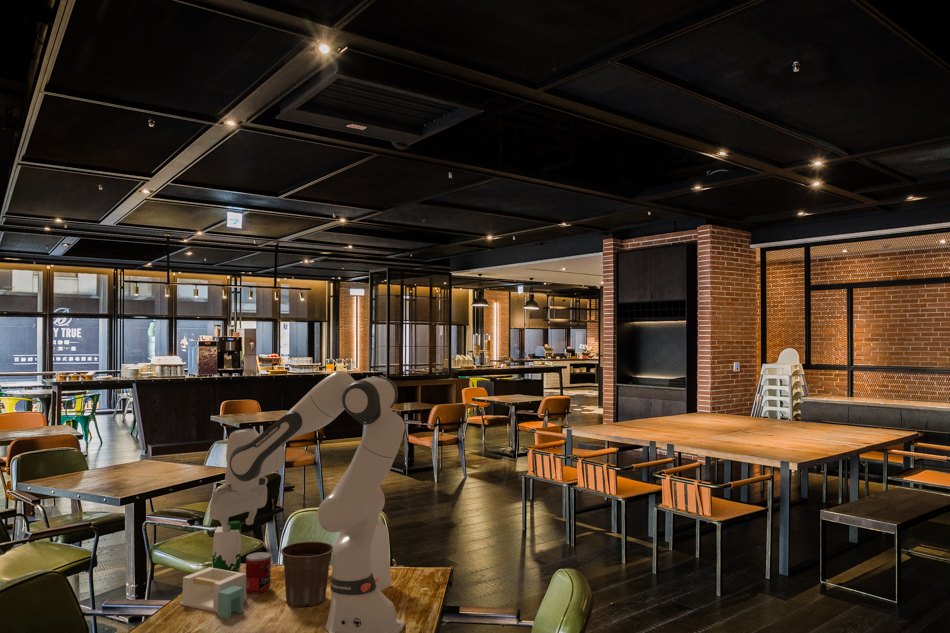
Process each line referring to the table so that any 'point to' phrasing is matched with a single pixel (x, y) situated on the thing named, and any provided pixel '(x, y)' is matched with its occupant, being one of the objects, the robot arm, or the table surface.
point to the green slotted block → (230, 601)
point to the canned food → (258, 572)
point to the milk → (381, 556)
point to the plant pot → (306, 572)
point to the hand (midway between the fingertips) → (238, 528)
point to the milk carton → (227, 548)
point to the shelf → (209, 587)
